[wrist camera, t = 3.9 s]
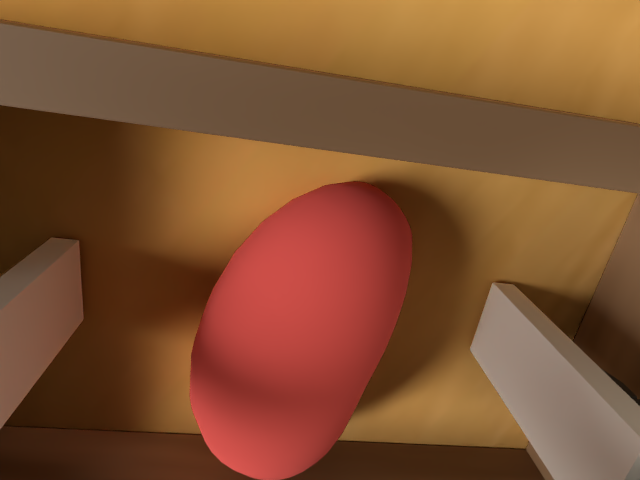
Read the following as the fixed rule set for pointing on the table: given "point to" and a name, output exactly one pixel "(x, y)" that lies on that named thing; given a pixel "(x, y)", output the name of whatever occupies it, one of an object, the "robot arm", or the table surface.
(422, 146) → the walnut box
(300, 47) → the table surface
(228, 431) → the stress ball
